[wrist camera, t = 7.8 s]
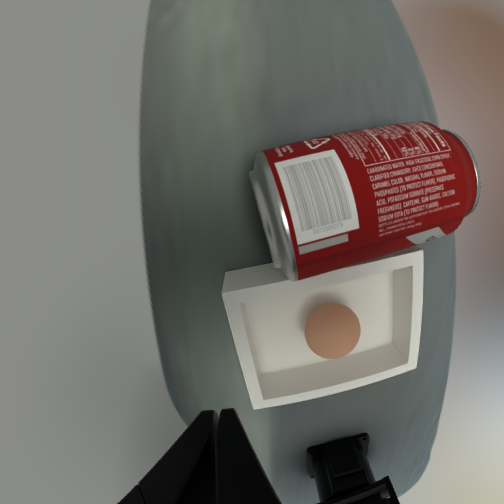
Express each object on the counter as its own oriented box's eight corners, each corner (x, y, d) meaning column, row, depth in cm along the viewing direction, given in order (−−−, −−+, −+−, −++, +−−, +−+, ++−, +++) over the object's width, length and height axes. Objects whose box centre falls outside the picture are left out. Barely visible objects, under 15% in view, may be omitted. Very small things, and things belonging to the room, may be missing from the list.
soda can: (276, 269, 11) (505, 200, 10) (235, 128, 13) (444, 96, 12) (281, 294, 17) (449, 241, 17) (253, 193, 19) (411, 157, 19)
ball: (351, 333, 20) (368, 361, 17) (303, 345, 20) (313, 376, 17) (348, 289, 19) (368, 312, 16) (297, 300, 19) (307, 327, 16)
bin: (397, 344, 21) (416, 367, 18) (252, 378, 22) (253, 409, 18) (397, 236, 19) (422, 249, 15) (225, 272, 19) (221, 292, 16)
